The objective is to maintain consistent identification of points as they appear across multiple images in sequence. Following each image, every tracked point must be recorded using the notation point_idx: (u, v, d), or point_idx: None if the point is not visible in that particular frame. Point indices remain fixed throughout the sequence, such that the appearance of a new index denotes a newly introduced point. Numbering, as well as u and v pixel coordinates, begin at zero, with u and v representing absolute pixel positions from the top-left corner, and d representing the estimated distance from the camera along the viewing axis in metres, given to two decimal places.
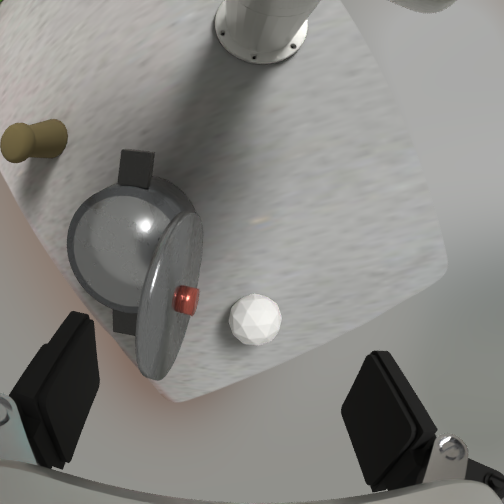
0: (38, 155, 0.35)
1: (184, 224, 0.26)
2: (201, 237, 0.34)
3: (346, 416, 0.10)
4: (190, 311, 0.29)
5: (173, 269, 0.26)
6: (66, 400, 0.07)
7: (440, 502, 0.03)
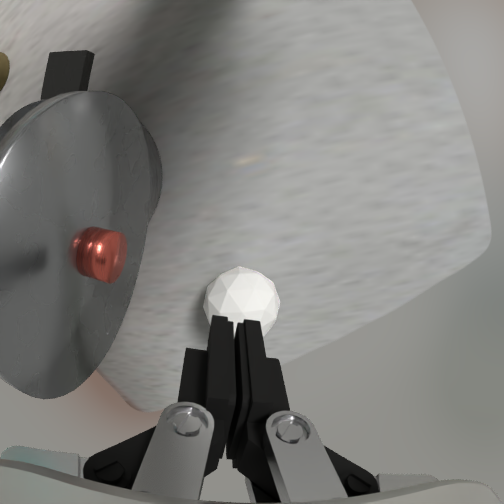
0: None
1: (88, 100, 0.12)
2: (145, 159, 0.20)
3: None
4: (101, 273, 0.14)
5: (57, 180, 0.11)
6: None
7: (440, 502, 0.03)
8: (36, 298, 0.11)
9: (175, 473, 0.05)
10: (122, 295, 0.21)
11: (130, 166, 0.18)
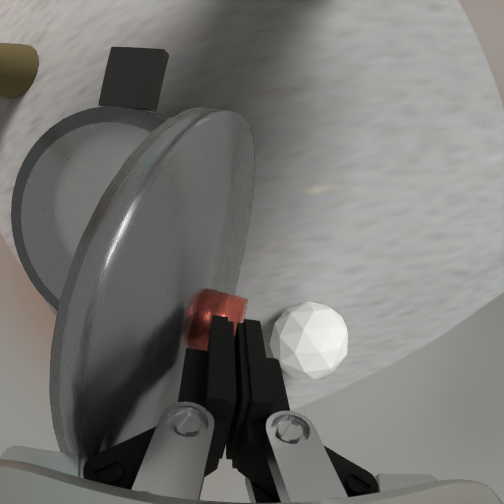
0: None
1: (226, 124, 0.09)
2: (251, 196, 0.17)
3: None
4: None
5: (187, 241, 0.09)
6: None
7: (440, 502, 0.03)
8: (151, 400, 0.09)
9: (175, 473, 0.05)
10: None
11: (241, 207, 0.15)
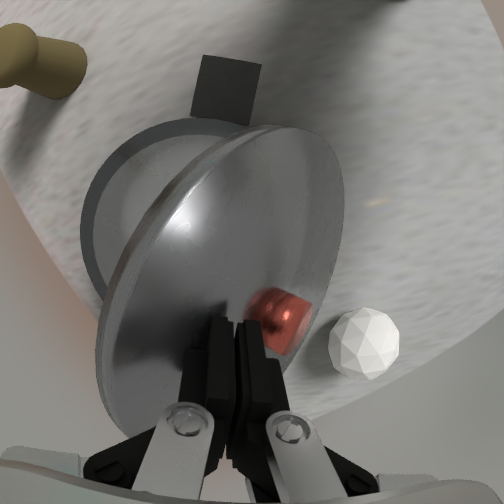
0: (39, 84, 0.19)
1: (293, 139, 0.11)
2: (341, 214, 0.18)
3: None
4: (278, 345, 0.13)
5: (247, 233, 0.11)
6: None
7: (440, 502, 0.03)
8: None
9: (175, 473, 0.05)
10: (286, 357, 0.19)
11: (326, 221, 0.16)
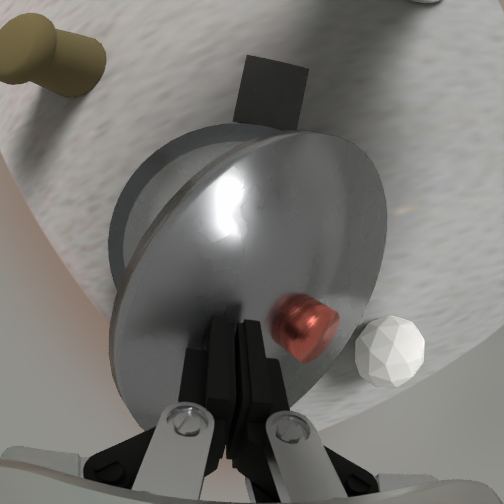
0: (55, 80, 0.18)
1: (321, 145, 0.11)
2: (383, 227, 0.17)
3: None
4: (297, 351, 0.13)
5: (268, 235, 0.11)
6: None
7: (440, 502, 0.03)
8: None
9: (175, 473, 0.05)
10: (317, 368, 0.19)
11: (364, 232, 0.16)
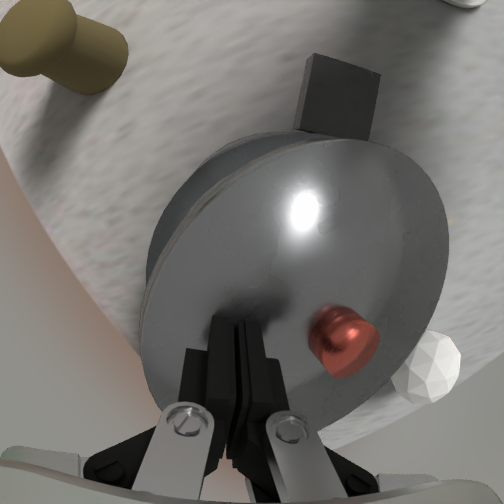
0: (72, 74, 0.16)
1: (364, 152, 0.11)
2: (444, 249, 0.15)
3: None
4: (327, 363, 0.12)
5: (304, 239, 0.11)
6: None
7: (440, 502, 0.03)
8: None
9: (175, 473, 0.05)
10: (361, 389, 0.17)
11: (421, 251, 0.14)
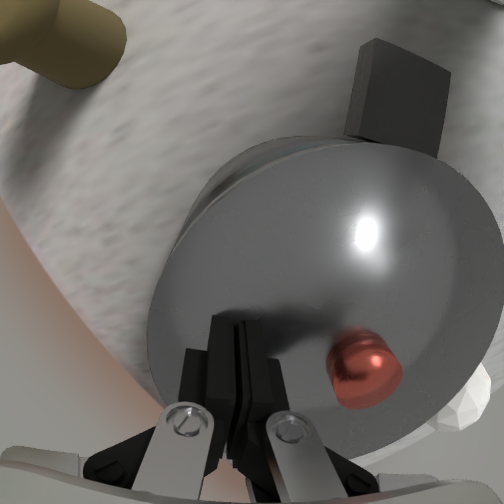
0: (55, 62, 0.12)
1: (393, 158, 0.09)
2: (500, 282, 0.11)
3: None
4: (335, 389, 0.10)
5: (319, 249, 0.10)
6: None
7: (440, 502, 0.03)
8: None
9: (175, 473, 0.05)
10: (391, 428, 0.14)
11: (470, 281, 0.11)
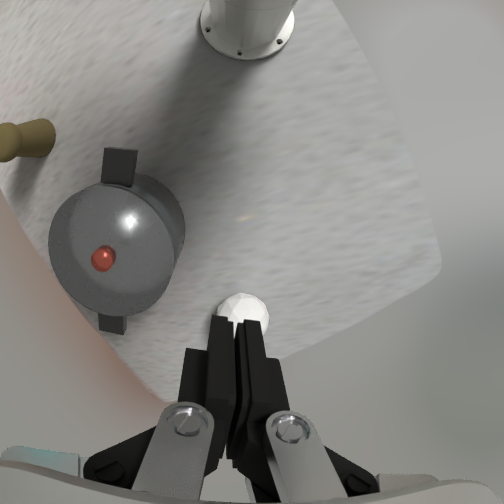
0: (26, 154, 0.35)
1: (99, 190, 0.32)
2: (161, 229, 0.34)
3: None
4: (91, 261, 0.33)
5: (84, 217, 0.33)
6: None
7: (440, 502, 0.03)
8: (71, 253, 0.34)
9: (175, 473, 0.05)
10: (137, 298, 0.37)
11: (141, 228, 0.34)
